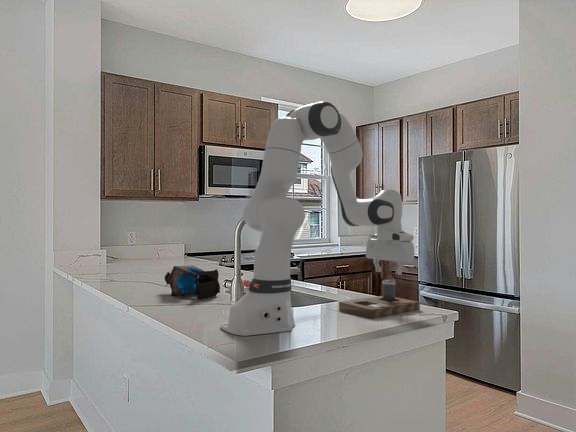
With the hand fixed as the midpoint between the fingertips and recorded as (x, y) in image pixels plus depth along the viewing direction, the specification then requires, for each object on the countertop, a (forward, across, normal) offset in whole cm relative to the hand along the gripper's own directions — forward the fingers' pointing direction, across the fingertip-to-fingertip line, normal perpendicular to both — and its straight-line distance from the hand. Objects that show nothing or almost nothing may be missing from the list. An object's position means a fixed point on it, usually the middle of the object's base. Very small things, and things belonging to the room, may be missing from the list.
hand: (388, 273), depth 164 cm
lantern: (+14, -64, -49) cm, 81 cm away
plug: (+13, 0, +1) cm, 13 cm away
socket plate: (+13, +1, -5) cm, 14 cm away
